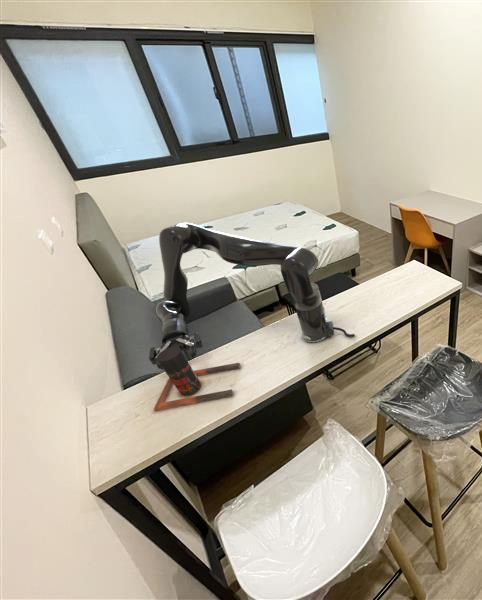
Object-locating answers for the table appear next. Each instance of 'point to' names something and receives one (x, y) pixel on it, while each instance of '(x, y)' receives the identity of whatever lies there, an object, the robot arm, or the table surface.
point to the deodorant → (179, 371)
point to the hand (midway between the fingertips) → (177, 361)
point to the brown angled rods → (196, 399)
